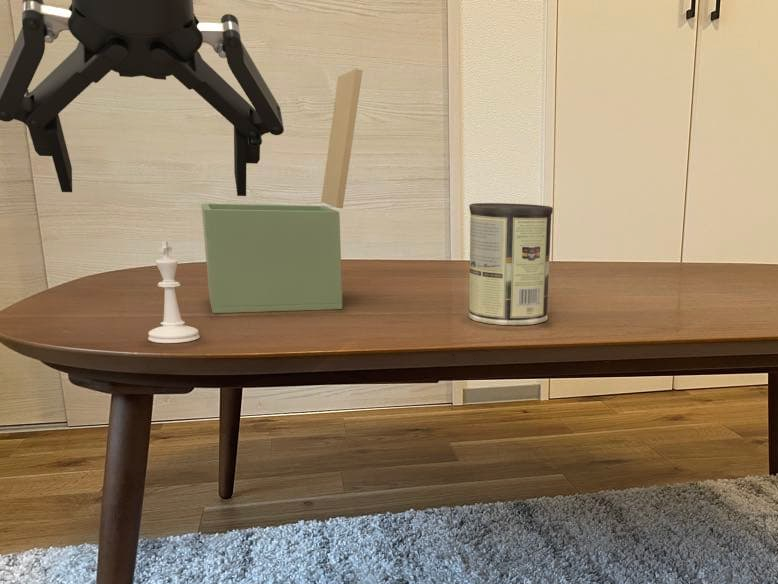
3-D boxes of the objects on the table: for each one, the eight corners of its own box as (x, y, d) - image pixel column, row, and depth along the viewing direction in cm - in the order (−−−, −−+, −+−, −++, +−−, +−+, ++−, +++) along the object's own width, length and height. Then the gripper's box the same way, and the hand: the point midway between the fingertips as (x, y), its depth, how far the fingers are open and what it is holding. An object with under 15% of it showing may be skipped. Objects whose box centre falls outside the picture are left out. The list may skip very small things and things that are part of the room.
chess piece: (207, 334, 84) (199, 240, 81) (187, 344, 79) (177, 244, 76) (162, 332, 84) (152, 237, 81) (138, 342, 79) (127, 242, 76)
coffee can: (496, 307, 107) (499, 201, 102) (561, 317, 102) (567, 207, 98) (451, 318, 98) (452, 203, 94) (520, 329, 93) (525, 209, 89)
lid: (355, 68, 93) (362, 70, 93) (338, 76, 103) (344, 77, 103) (335, 207, 97) (342, 208, 97) (320, 201, 107) (327, 202, 107)
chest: (212, 313, 94) (204, 209, 91) (209, 297, 104) (201, 203, 101) (342, 309, 101) (339, 211, 97) (327, 294, 111) (324, 205, 107)
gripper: (-120, -42, 44) (-16, 213, 61) (332, 11, 54) (310, 217, 71) (-109, -122, 47) (-13, 143, 64) (317, -58, 57) (299, 156, 74)
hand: (157, 182), depth 68 cm, fingers open, 13 cm apart
